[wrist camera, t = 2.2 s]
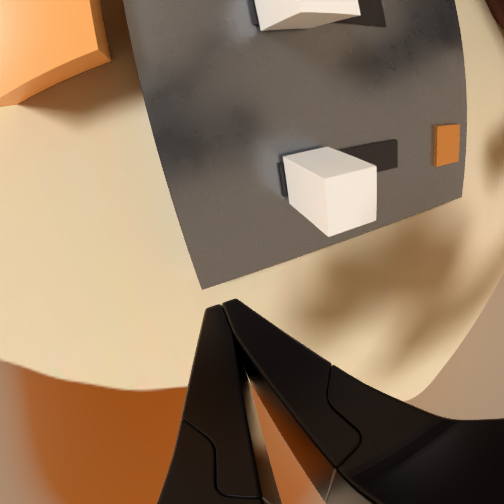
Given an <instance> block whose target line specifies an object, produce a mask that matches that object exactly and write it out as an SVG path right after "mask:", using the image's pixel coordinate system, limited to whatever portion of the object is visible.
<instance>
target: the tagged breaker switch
mask: <svg viewBox="0 0 504 504" xmlns="http://www.w3.org/2000/svg"><path fill="white" fill-rule="evenodd" d="M283 161H284V168H285V175H286V182H287V189H288V197H289V204H290V205H292V206H293V207H294V208H295V209H296V210H298V211H299V212H300V213H301V214H302V215H303V216H305V217H306V218H307V219H308V220H309V221H310V222H312V223H313V224H314V225H315V226H316V227H317V228H319V229H320V230H321V231H322V232H323V233H324V234H325V235H327V236H328V237H330V236H333V235H336V234H339V233H342V232H344V231H347V230H350V229H353V228H356V227H359V226H362V225H365V224H367V223H370V222H373V221H376V211H377V166H375V165H373V164H370V163H368V162H366V161H363V160H361V159H358V158H356V157H353V156H351V155H348V154H346V153H343V152H341V151H338V150H335V149H333V148H330V147H324V148H319V149H314V150H310V151H305V152H301V153H296V154H292V155H287V156H283Z"/></svg>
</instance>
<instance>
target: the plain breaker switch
mask: <svg viewBox="0 0 504 504" xmlns="http://www.w3.org/2000/svg"><path fill="white" fill-rule="evenodd" d="M254 1H255V6H256V10H257V15H258V20H259V24H260V29H261V31H267V30H281V29H305V28H314V27H317V26H321V25H324V24H328V23H331V22H335V21H339V20H343V19H347V18H351V17H356V16H360V15H361V14H360V9H359V4H358V0H254Z"/></svg>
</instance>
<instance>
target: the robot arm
mask: <svg viewBox="0 0 504 504" xmlns="http://www.w3.org/2000/svg"><path fill="white" fill-rule="evenodd" d="M244 368H245V369H244ZM246 373H247V374H246ZM247 376H248V377H247ZM248 378H249V380H250V382H251V384H252V386H253V388H254V389H255V391H256V393H257V395H258V396H259V398H260V400H261V401H262V403H263V405H264V407H265V408H266V410H267V412H268V413H269V415H270V417H271V418H272V420H273V422H274V423H275V425H276V427H277V428H278V430H279V432H280V433H281V435H282V436H283V438H284V440H285V441H286V443H287V445H288V446H289V448H290V450H291V451H292V453H293V454H294V456H295V457H296V459H297V461H298V462H299V464H300V465H301V467H302V468H303V470H304V471H305V473H306V474H307V476H308V478H309V479H310V481H311V482H312V484H313V485H314V487H315V488H316V490H317V491H318V492H319V494H320V495H321V497H322V498H323V500H324V501H325V502H326V504H504V418H501V419H484V420H483V419H482V420H456V419H450V418H445V417H441V416H437V415H434V414H432V413H429V412H427V411H424V410H422V409H420V408H417V407H415V406H412V405H410V404H408V403H405V402H403V401H401V400H399V399H396V398H394V397H392V396H389V395H387V394H385V393H383V392H381V391H379V390H377V389H375V388H373V387H371V386H369V385H366V384H364V383H363V382H361V381H359V380H358V379H356V378H354V377H353V376H351V375H349V374H347V373H346V372H344V371H343V370H341V369H340V368H338V367H337V366H335V365H332V366H331V363H330V362H329V361H327V360H326V359H324V358H322V357H321V356H319V355H318V354H316V353H315V352H313V351H312V350H310V349H309V348H307V347H306V346H304V345H303V344H301V343H300V342H298V341H297V340H295V339H294V338H293V337H291V336H290V335H288V334H287V333H285V332H284V331H282V330H281V329H279V328H278V327H276V326H275V325H273V324H272V323H271V322H269V321H268V320H266V319H265V318H263V317H262V316H261V315H259V314H258V313H256V312H255V311H253V310H252V309H251V308H249V307H248V306H246V305H245V304H244V303H242V302H241V301H239V300H238V299H233V300H230V301H227V302H224V303H223V304H222V306H221V305H220V304H218V305H215V306H212V307H209V308H207V309H206V310H205V313H204V317H203V321H202V326H201V330H200V334H199V339H198V343H197V347H196V352H195V356H194V361H193V365H192V370H191V374H190V379H189V384H188V388H187V393H186V398H185V402H184V408H183V412H182V419H183V420H181V421H180V426H179V431H178V436H177V440H176V444H175V449H174V453H173V457H172V460H171V463H170V466H169V470H168V473H167V476H166V479H165V482H164V485H163V488H162V491H161V494H160V497H159V500H158V503H157V504H282V503H281V499H280V496H279V492H278V489H277V485H276V482H275V478H274V475H273V471H272V467H271V464H270V460H269V456H268V453H267V449H266V445H265V441H264V438H263V435H262V430H261V426H260V422H259V418H258V415H257V411H256V407H255V403H254V399H253V395H252V391H251V387H250V383H249V380H248Z"/></svg>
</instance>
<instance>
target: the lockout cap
mask: <svg viewBox="0 0 504 504" xmlns="http://www.w3.org/2000/svg"><path fill="white" fill-rule="evenodd" d="M108 62H111V56H110V52H109V47H108V42H107V37H106V32H105V26H104V21H103V15H102V9H101V3H100V0H0V107H3V106H10V105H17V104H19V103H20V102H22V101H24V100H26V99H28V98H29V97H31V96H33V95H35V94H37V93H39V92H41V91H43V90H45V89H47V88H49V87H51V86H53V85H55V84H57V83H59V82H62V81H64V80H66V79H68V78H70V77H73V76H75V75H77V74H80V73H82V72H85V71H87V70H90V69H92V68H95V67H97V66H100V65H103V64H105V63H108Z"/></svg>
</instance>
